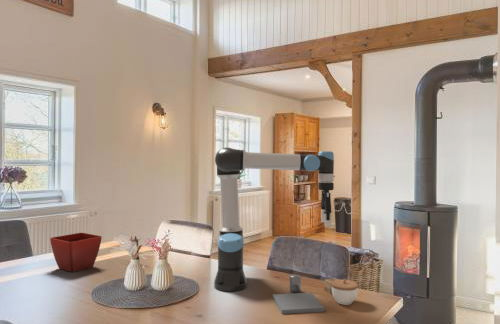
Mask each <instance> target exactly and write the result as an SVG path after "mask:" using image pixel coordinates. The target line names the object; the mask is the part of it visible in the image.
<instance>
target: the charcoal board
mask: <svg viewBox="0 0 500 324" xmlns="http://www.w3.org/2000/svg"><path fill="white" fill-rule="evenodd" d="M272 299H273V301H274V303H275V305H276V306H277V308H278V310H279V311H280V313H281V314H282V315H285V314H301V313H302V314H304V313H321V312H323V313H324V312H325V306H324V305H323V304H322V303H321V301H319V300H318V298H317V297H316V296H315V295H314V293H312V292H300V293H276V294H274V293H273V294H272Z"/></svg>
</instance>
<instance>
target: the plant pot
mask: <svg viewBox="0 0 500 324" xmlns="http://www.w3.org/2000/svg"><path fill="white" fill-rule="evenodd" d="M49 240H50V245H51V250H52V254H53V257H54V259H55V260H54V261H55V262H56V265H57V268H58V269H59V270H63V271H67V272H70V273H74V272H79V271H81V270H86V269H87V270H88V269H91V268H93V266H94V265H95V263H96V260H97V258H98V253H99V251H100V247H101V241H102V236H101V235H97V234H92V233H86V232H77V233H70V234H66V235H65V234H64V235H58V236H53V237H50V239H49Z"/></svg>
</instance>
